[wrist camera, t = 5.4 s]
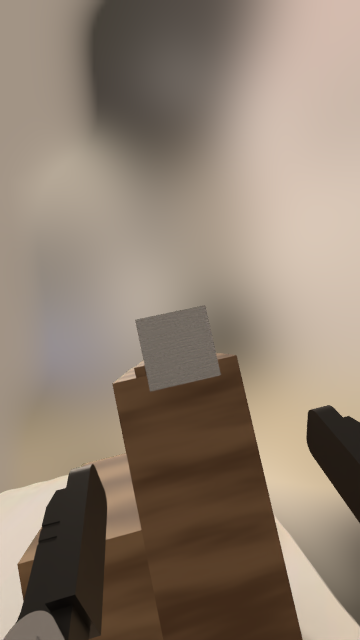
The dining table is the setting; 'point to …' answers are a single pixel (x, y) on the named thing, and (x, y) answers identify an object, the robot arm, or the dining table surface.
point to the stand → (189, 518)
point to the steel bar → (177, 348)
